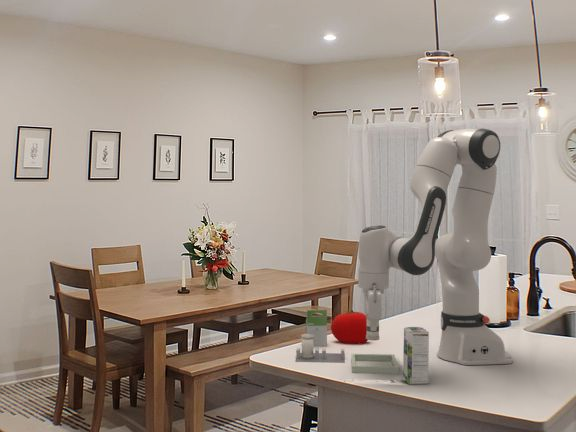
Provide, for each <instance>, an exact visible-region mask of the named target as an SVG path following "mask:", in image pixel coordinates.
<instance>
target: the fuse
mask: <svg viewBox="0 0 576 432" xmlns="http://www.w3.org/2000/svg"><path fill="white" fill-rule="evenodd" d="M365 315H366V319H367V325H366V330H367V334H366V339H367V340H368V341H379V340H380V319H378V320H377V330H376V331H371V330H370V319H369V318H368V313H367V314H365Z"/></svg>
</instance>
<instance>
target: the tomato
mask: <svg viewBox="0 0 576 432" xmlns="http://www.w3.org/2000/svg"><path fill="white" fill-rule="evenodd" d="M343 312H344V313H341V314H338V315H336V316H335V317H334V319H333V320H332V322H331V324H330V330H331V333H332V335H333V337H334V338H335V339H336V341H339V342H340V343H342V344H350V345H352V344H353V345H355V344H356V345H357V344H365V343H367V342H368V341H369V340H367V339H366V334H367V330H366V325H367V319H366V314H364V313H363V312H360V311H354V310H353V309H352V310H350V311H348V310H347V311H346V310H345V311H343Z"/></svg>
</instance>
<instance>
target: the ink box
mask: <svg viewBox="0 0 576 432" xmlns="http://www.w3.org/2000/svg"><path fill="white" fill-rule="evenodd" d="M314 314H321V315H314ZM313 315H314V316H313ZM327 317H328V311H327V309H316V310H314V309H313V310H312V309H311V310H306V318H305V334H306V333H309V334H313V335H314V339H313V348H314V347H315V348H316V347H317V348H319V347H322V348H323V347H328V320H327V319H328V318H327Z"/></svg>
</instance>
